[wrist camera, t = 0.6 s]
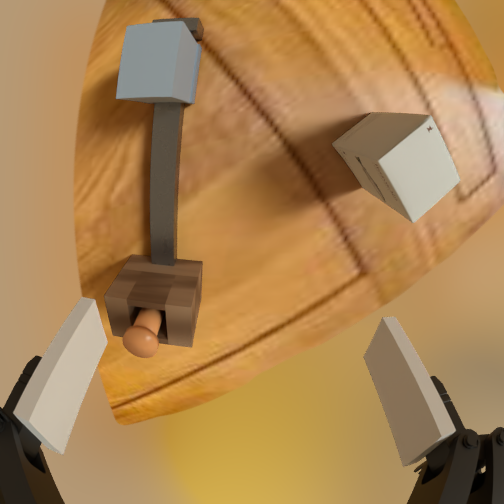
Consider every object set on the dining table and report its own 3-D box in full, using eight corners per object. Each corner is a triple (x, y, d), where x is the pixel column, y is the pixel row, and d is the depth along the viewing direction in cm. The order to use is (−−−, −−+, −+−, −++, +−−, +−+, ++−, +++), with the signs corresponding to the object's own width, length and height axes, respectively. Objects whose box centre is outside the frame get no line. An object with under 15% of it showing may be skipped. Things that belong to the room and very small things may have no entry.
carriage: (156, 49, 24) (125, 26, 16) (201, 48, 25) (185, 20, 16) (149, 103, 27) (113, 99, 19) (194, 103, 28) (174, 96, 19)
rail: (162, 29, 23) (152, 19, 20) (203, 28, 24) (199, 17, 20) (148, 256, 36) (140, 270, 33) (184, 259, 37) (178, 275, 33)
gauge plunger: (137, 293, 31) (119, 329, 25) (168, 297, 31) (155, 334, 25) (140, 318, 32) (125, 354, 27) (169, 322, 33) (158, 360, 27)
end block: (132, 254, 36) (104, 295, 27) (202, 261, 37) (191, 307, 28) (135, 290, 39) (113, 335, 30) (201, 298, 40) (191, 347, 31)
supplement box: (329, 143, 31) (375, 158, 19) (372, 110, 29) (433, 112, 17) (361, 189, 33) (412, 226, 22) (401, 157, 31) (463, 180, 20)
